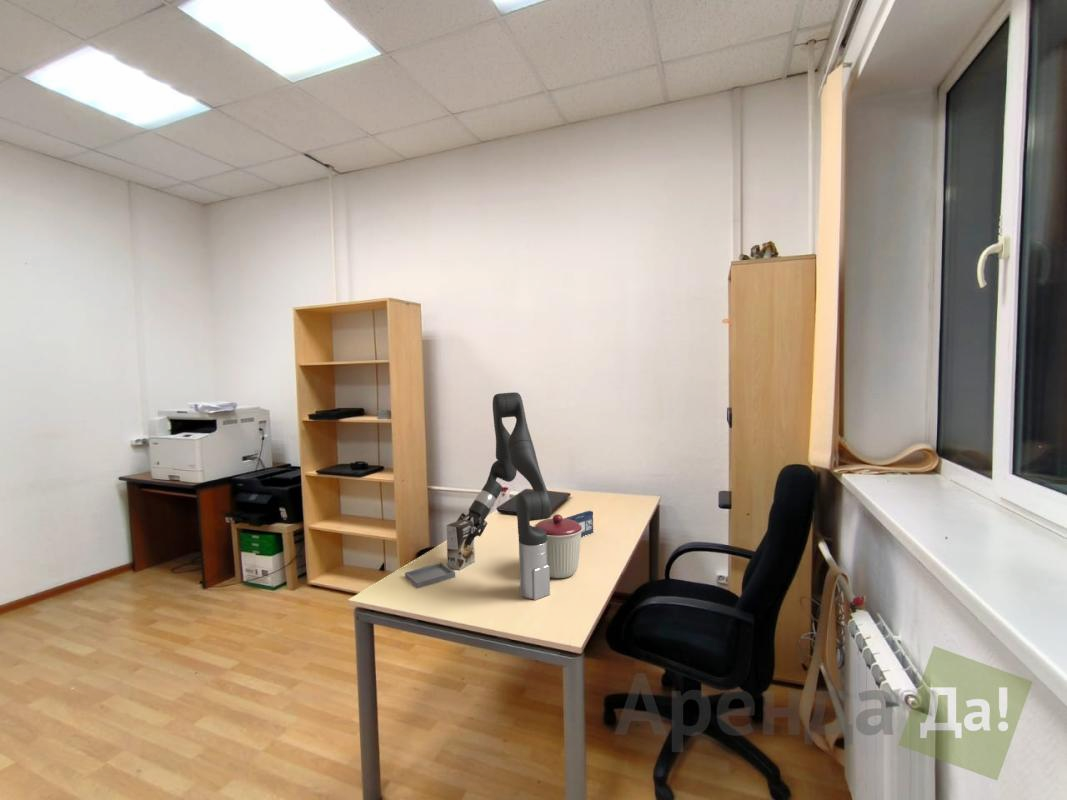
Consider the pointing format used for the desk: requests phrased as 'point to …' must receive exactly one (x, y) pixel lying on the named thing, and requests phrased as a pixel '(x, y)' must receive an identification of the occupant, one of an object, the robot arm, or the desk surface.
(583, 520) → the vhs cassette tape
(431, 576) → the tray
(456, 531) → the coffee box
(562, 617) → the desk surface
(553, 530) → the canister
